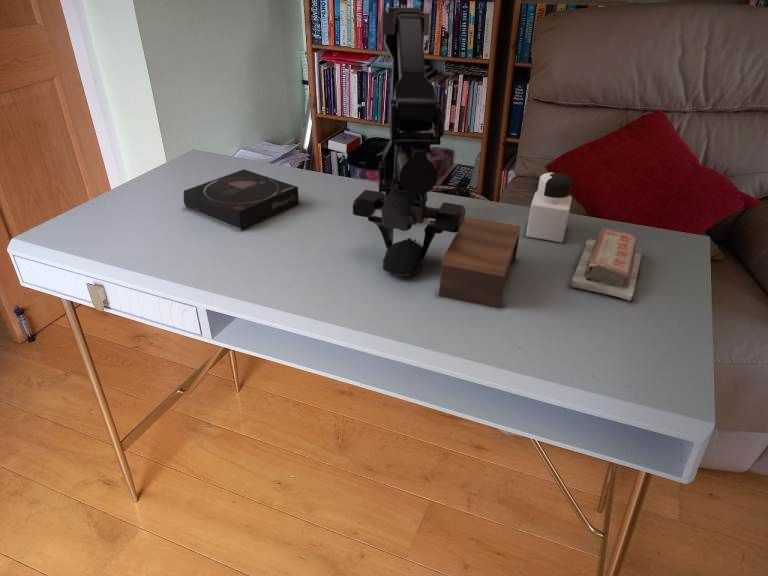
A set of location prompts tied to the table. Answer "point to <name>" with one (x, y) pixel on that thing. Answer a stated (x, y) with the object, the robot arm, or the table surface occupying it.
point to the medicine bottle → (550, 208)
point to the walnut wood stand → (479, 261)
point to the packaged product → (609, 264)
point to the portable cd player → (241, 198)
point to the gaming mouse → (403, 258)
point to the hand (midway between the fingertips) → (406, 254)
